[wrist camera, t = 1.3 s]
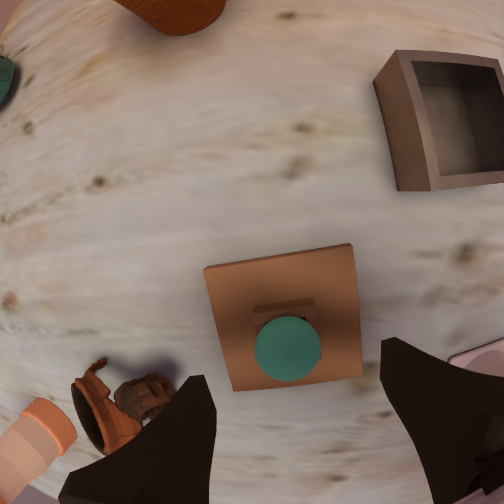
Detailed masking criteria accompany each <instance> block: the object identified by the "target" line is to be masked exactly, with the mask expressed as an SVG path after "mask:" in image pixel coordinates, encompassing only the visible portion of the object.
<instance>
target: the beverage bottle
mask: <svg viewBox="0 0 504 504" xmlns="http://www.w3.org/2000/svg"><path fill="white" fill-rule="evenodd" d="M6 57H7V56H6ZM6 57H4V56H0V104H1V102H2V101H3V100H4V98H5V96H6V94H7V92H8V90H9V88H10V85H11V83H12V79H13V75H14V64H13V62H12V61H11V60H10V58H6Z"/></svg>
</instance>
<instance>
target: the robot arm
mask: <svg viewBox="0 0 504 504" xmlns="http://www.w3.org/2000/svg"><path fill="white" fill-rule="evenodd" d="M380 380H381V383H382V385H383V388H384V390H385V393H386V395H387V397H388V399H389V401H390V403H391V404H392V406H393V408H394V409H395V411H396V413H397V414H398V416H399V418H400V419H401V421H402V423H403V424H404V426H405V428H406V429H407V431H408V433H409V435H410V437H411V439H412V441H413V443H414V445H415V447H416V450H417V452H418V455H419V457H420V460H421V463H422V466H423V468H424V471H425V474H426V477H427V480H428V484H429V487H430V490H431V494H432V498H433V502H434V504H504V339H502V340H499V341H497V342H494V343H491V344H489V345H486V346H483V347H481V348H478V349H475V350H472V351H469V352H466V353H463V354H460V355H457V356H454V357H452V358H451V359H450V360H449V363H447V362H445V361H442V360H440V359H438V358H436V357H433V356H431V355H429V354H427V353H425V352H423V351H421V350H419V349H417V348H415V347H414V346H412V345H410V344H408V343H406V342H404V341H402V340H400V339H398V338H396V337H392V338H389V339H385V340H382V341H381V366H380ZM216 425H217V410H216V408H215V405H214V402H213V399H212V397H211V394H210V391H209V388H208V385H207V382H206V379H205V377H204V375H197V376H189V377H188V379H187V380H186V381H185V382H184V384H183V385H182V386H181V388H180V389H179V390H178V391H177V393H176V394H175V395H174V397H173V398H172V399H171V400H170V401H169V403H168V404H167V405H166V406H165V408H164V409H163V410H162V411H161V412H160V413H159V414H158V415H157V416H156V417H155V418H154V420H153V421H152V422H151V423H150V424H149V425H148V426H147V427H145V428H144V429H143V430H142V431H141V432H140V433H139V434H138V435H136V436H135V437H134V438H133V439H131V440H130V441H129V442H127V443H126V444H124V445H123V446H122V447H120V448H119V449H117V450H116V451H114V452H113V453H111V454H109V455H108V456H106V457H104V458H102V459H100V460H98V461H96V462H94V463H92V464H90V465H88V466H85V467H83V468H80V469H78V470H75V471H73V472H70V473H69V475H68V477H67V479H66V481H65V483H64V485H63V487H62V490H61V492H60V494H59V496H58V500H59V502H60V504H209V479H210V471H211V464H212V457H213V451H214V444H215V437H216Z"/></svg>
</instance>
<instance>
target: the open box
mask: <svg viewBox="0 0 504 504" xmlns="http://www.w3.org/2000/svg"><path fill="white" fill-rule="evenodd" d="M373 84H374V88H375V91H376V95H377V98H378V102H379V106H380V109H381V113H382V117H383V121H384V125H385V130H386V134H387V138H388V143H389V148H390V153H391V158H392V163H393V168H394V174H395V180H396V186H397V191H436V190H444V189H452V188H461V187H469V186H478V185H487V184H496V183H504V75H503V72H502V70H501V67H500V64H499V61H498V59H493V58H487V57H480V56H474V55H466V54H458V53H448V52H436V51H419V50H395V52H394V53H393V54H392V56H391V57H390V59H389V60H388V61H387V63H386V64H385V65H384V67H383V68H382V69H381V71H380V72H379V74H378V75H377V76H376V78H375V79H374V80H373Z"/></svg>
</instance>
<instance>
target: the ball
mask: <svg viewBox="0 0 504 504" xmlns="http://www.w3.org/2000/svg"><path fill="white" fill-rule="evenodd" d="M254 353H255V358H256V361H257V363H258V365H259V367H260V368H261V369H262V371H263V372H264V373H265V374H267V375H268V376H269V377H271V378H273V379H276V380H279V381H295V380H298V379H301V378H303V377H305V376H306V375H308V374H309V373H310V372H311V371H312V370H313V369H314V368H315V366H316V364H317V363H318V360H319V357H320V353H321V343H320V339H319V336H318V334H317V332H316V331H315V329H314V328H313V327H312V326H311V325H310V324H309V323H308V322H306V321H304V320H303V319H300V318H297V317H293V316H283V317H279V318H276V319H274V320H272V321H270V322H268V323H267V324H266V325H265V326H264V327H263V328H262V329H261V330H260V332H259V333H258V335H257V338H256V341H255V346H254Z"/></svg>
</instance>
